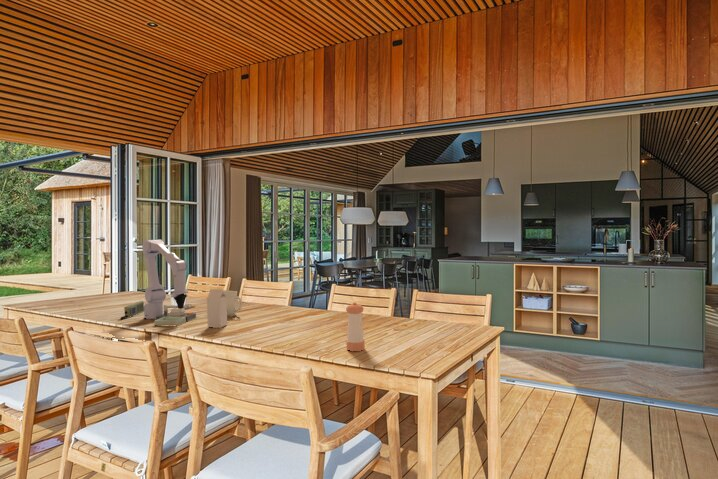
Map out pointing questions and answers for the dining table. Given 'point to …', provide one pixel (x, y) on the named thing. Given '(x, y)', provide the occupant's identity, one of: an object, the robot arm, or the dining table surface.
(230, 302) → the pitcher
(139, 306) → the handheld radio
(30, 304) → the dining table surface
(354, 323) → the pepper shaker
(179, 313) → the plug
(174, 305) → the clip
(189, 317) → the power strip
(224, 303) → the milk carton
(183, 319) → the tray
